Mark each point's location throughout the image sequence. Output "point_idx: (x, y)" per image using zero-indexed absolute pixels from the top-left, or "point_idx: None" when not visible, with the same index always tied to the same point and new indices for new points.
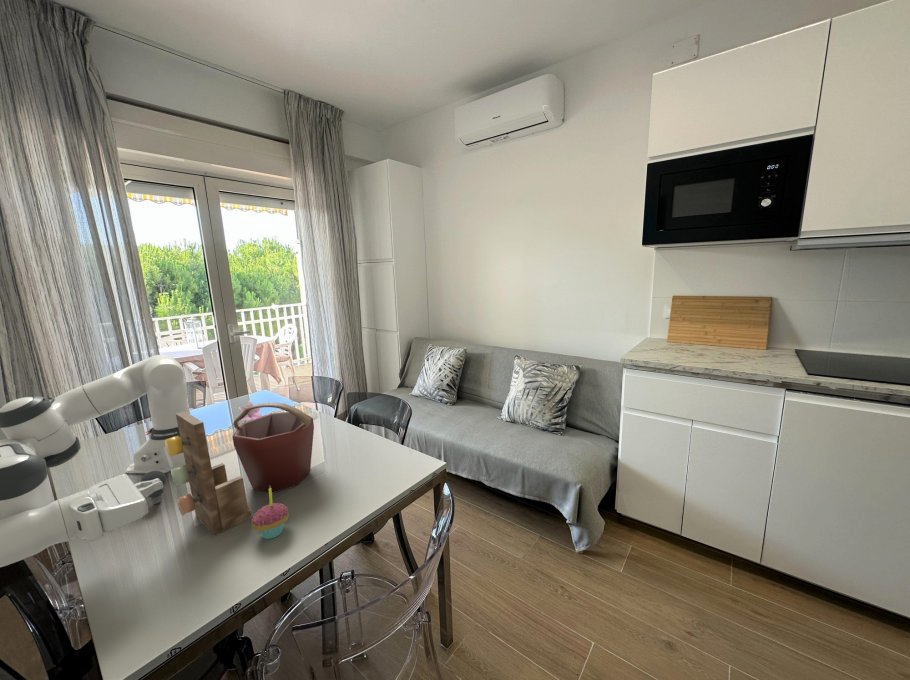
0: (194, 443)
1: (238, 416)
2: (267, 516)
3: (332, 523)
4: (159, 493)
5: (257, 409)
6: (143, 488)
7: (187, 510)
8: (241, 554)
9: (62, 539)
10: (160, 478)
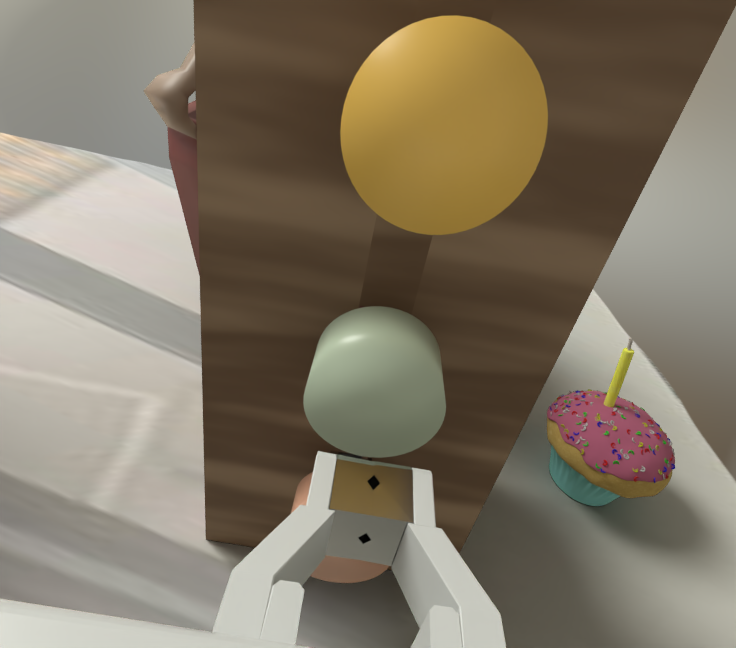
0: (599, 117)
1: (192, 64)
2: (663, 441)
3: (639, 404)
4: None
5: None
6: (471, 620)
7: None
8: (643, 590)
9: None
10: None
